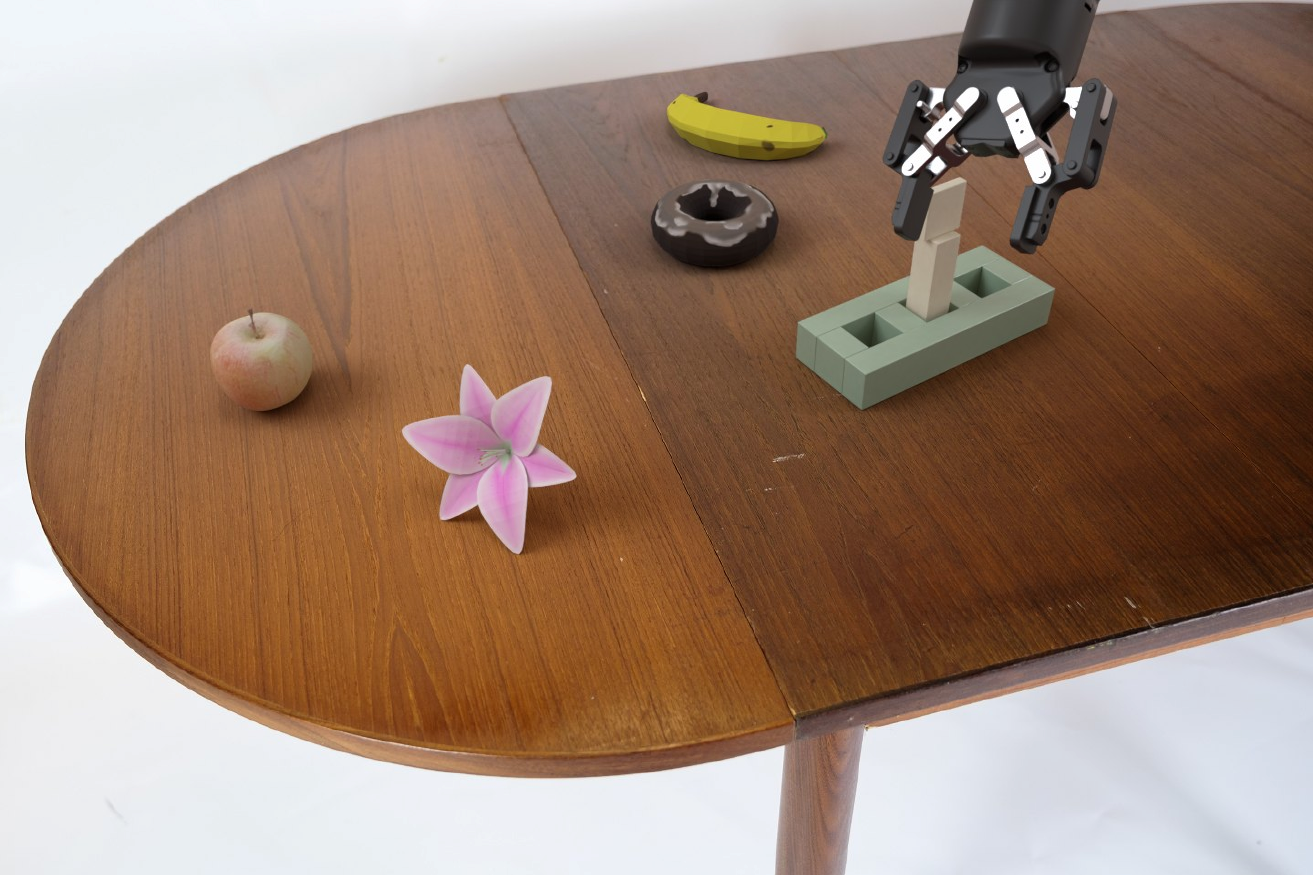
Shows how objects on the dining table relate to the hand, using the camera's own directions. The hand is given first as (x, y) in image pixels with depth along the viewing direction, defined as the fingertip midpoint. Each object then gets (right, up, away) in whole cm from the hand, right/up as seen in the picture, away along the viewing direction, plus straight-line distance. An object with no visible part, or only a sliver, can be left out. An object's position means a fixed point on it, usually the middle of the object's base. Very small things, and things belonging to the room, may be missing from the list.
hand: (960, 243), depth 72 cm
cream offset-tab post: (+2, -4, +20) cm, 21 cm away
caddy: (+2, -4, +20) cm, 21 cm away
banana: (-10, +20, +50) cm, 54 cm away
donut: (-14, +6, +33) cm, 36 cm away
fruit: (-50, -9, +18) cm, 54 cm away
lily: (-30, -17, +8) cm, 36 cm away
